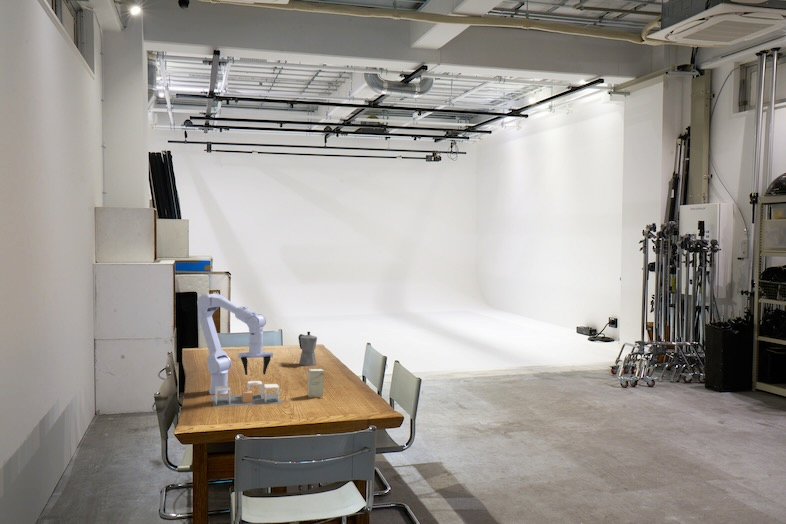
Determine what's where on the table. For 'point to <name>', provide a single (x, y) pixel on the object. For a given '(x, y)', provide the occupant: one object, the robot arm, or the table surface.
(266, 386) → the arch right
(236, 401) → the mat
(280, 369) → the table surface
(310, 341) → the coffeepot
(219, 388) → the arch left
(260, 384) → the white u-channel shell
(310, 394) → the skincare box
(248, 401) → the cube
